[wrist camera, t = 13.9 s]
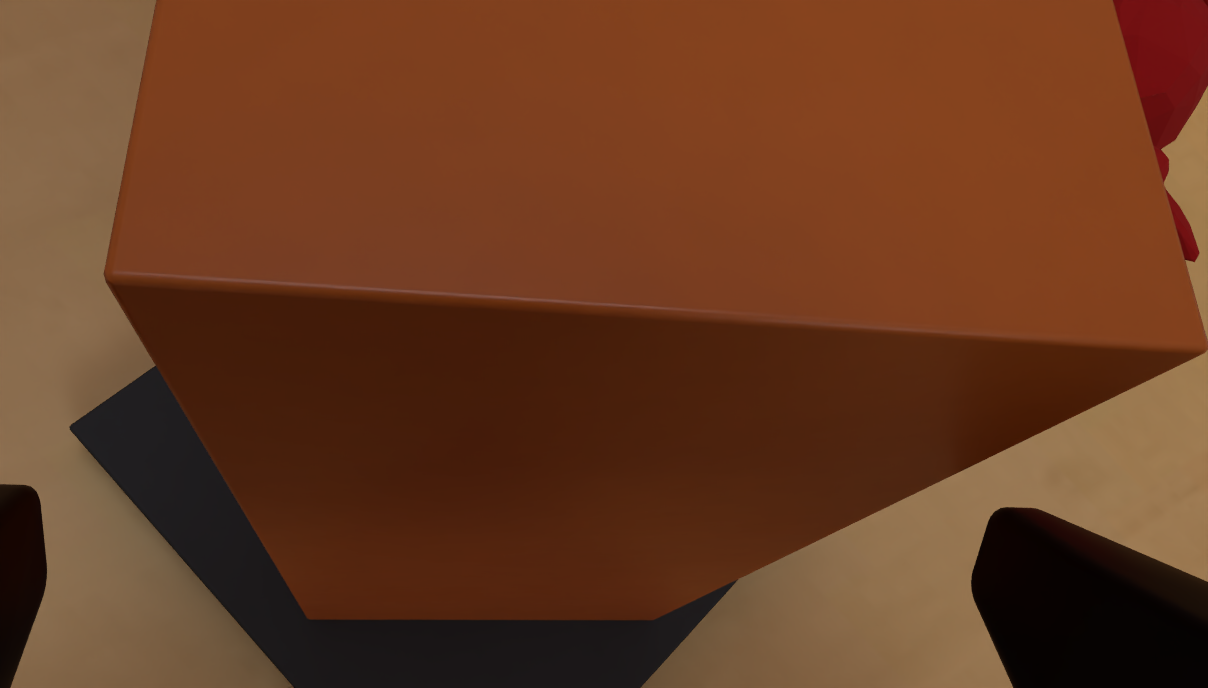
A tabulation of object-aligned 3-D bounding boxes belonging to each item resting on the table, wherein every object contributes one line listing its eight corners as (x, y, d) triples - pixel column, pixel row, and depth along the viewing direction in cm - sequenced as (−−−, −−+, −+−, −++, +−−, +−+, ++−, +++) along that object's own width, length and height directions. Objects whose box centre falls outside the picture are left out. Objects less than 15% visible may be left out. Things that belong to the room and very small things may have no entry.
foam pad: (459, 876, 16) (464, 883, 15) (83, 442, 18) (66, 426, 17) (820, 478, 20) (841, 465, 19) (491, 151, 22) (496, 125, 21)
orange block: (655, 620, 17) (1216, 352, 6) (306, 620, 16) (97, 280, 4) (643, 313, 20) (1024, -333, 8) (336, 293, 19) (249, -499, 7)
